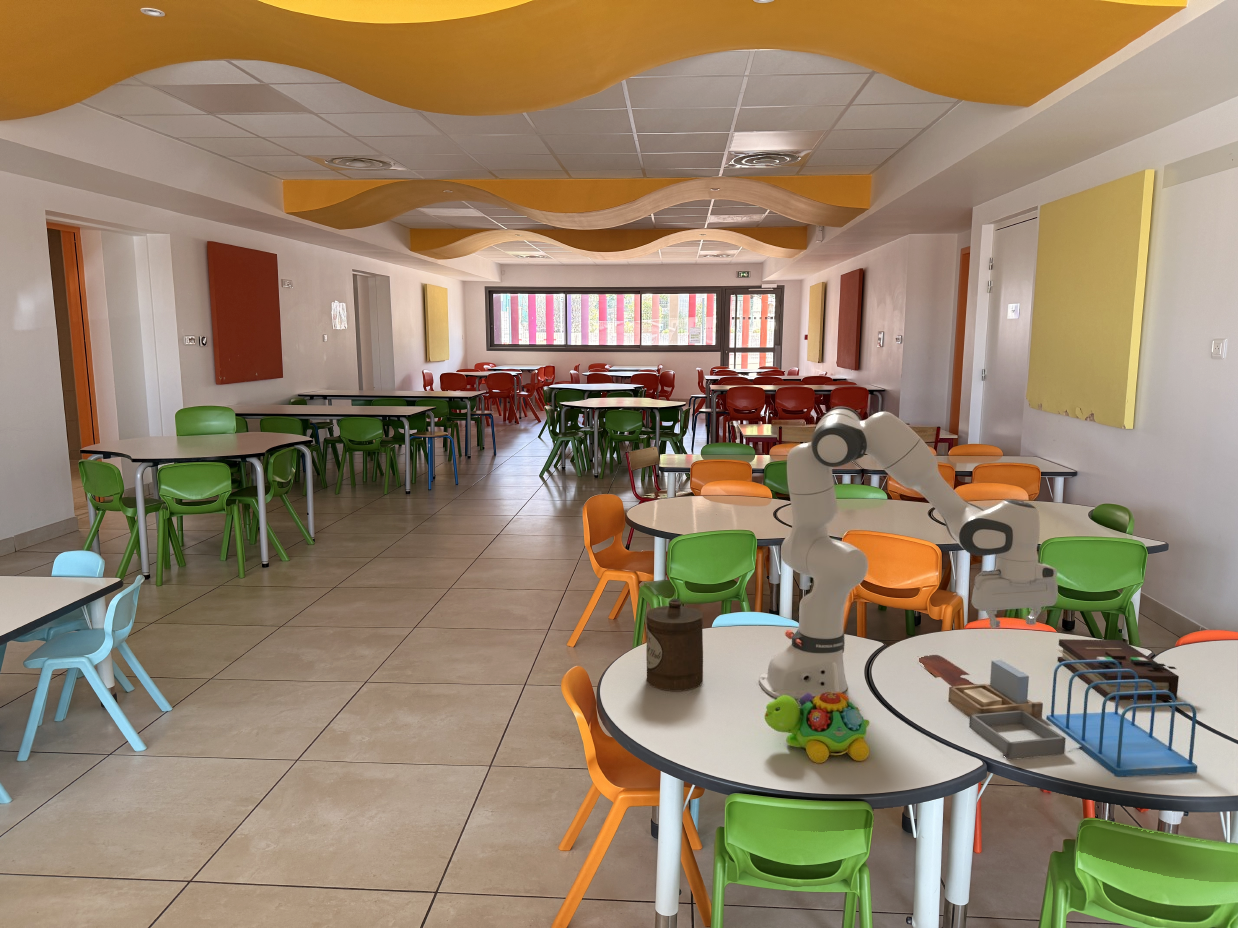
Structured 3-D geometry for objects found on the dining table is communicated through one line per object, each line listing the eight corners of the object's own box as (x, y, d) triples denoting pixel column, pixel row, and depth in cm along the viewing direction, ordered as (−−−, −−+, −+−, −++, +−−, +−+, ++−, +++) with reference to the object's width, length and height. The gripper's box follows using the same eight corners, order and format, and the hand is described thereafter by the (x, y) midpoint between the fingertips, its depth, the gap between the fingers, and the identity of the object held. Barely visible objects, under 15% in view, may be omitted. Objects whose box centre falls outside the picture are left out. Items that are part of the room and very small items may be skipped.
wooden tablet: (994, 695, 208) (995, 689, 208) (957, 697, 207) (957, 691, 207) (942, 656, 234) (942, 650, 234) (908, 658, 233) (908, 652, 233)
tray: (1008, 759, 175) (1009, 743, 174) (969, 729, 188) (969, 714, 188) (1064, 753, 177) (1065, 737, 177) (1021, 724, 191) (1022, 709, 190)
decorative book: (1121, 634, 230) (1190, 676, 200) (1119, 660, 231) (1187, 706, 201) (1050, 633, 231) (1109, 675, 201) (1048, 659, 232) (1106, 705, 202)
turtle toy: (755, 730, 189) (756, 681, 187) (854, 726, 191) (856, 678, 189) (774, 767, 172) (775, 714, 171) (883, 763, 174) (885, 710, 172)
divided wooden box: (979, 726, 190) (980, 708, 189) (948, 703, 202) (949, 686, 201) (1041, 720, 193) (1042, 703, 192) (1007, 698, 205) (1008, 681, 204)
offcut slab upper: (983, 710, 192) (984, 702, 192) (963, 698, 199) (963, 690, 198) (1001, 707, 193) (1001, 699, 193) (980, 695, 200) (980, 687, 200)
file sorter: (1045, 722, 192) (1049, 659, 190) (1116, 719, 194) (1121, 657, 191) (1116, 777, 168) (1122, 706, 166) (1197, 774, 169) (1204, 703, 167)
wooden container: (646, 668, 225) (646, 590, 222) (701, 669, 224) (701, 591, 221) (646, 691, 210) (646, 608, 207) (704, 692, 210) (705, 608, 207)
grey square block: (1016, 717, 193) (1018, 676, 191) (989, 699, 203) (991, 660, 201) (1026, 716, 193) (1028, 675, 192) (998, 698, 203) (1001, 659, 202)
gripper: (984, 574, 188) (980, 633, 190) (1063, 569, 192) (1059, 626, 194) (967, 567, 194) (964, 624, 196) (1045, 562, 198) (1041, 618, 200)
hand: (1012, 625), depth 195 cm, fingers open, 8 cm apart
